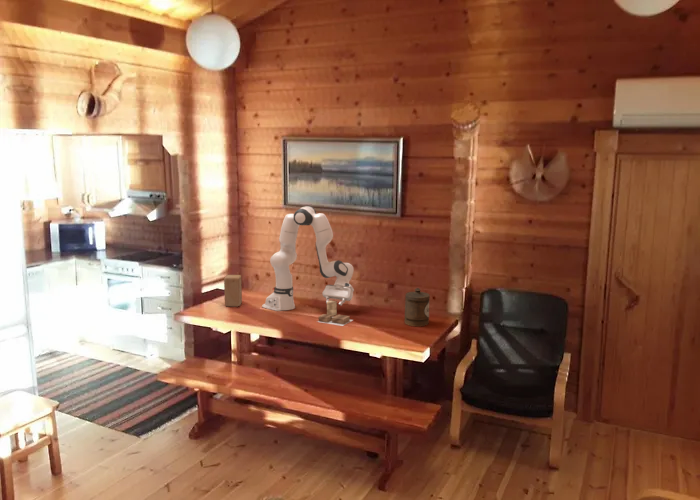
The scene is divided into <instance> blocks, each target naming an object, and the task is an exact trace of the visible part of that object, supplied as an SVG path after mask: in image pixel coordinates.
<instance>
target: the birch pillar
mask: <svg viewBox="0 0 700 500" xmlns="http://www.w3.org/2000/svg"><path fill="white" fill-rule="evenodd" d="M337 304H338V303H337V300H330V299H329V301H328V302H327V304H326V314H327V315H332V317H334V316H336V315H338V312H337V309H338V305H337Z"/></svg>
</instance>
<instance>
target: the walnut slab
mask: <svg viewBox="0 0 700 500" xmlns="http://www.w3.org/2000/svg"><path fill="white" fill-rule="evenodd" d="M350 317H351V316H350V315H345V314H344V315H343V314H338V313H337V315H335V316H332V323H338V324H345V323H347V322H349V321H350V320H351V318H350ZM349 323H350V322H349ZM347 324H348V323H347ZM345 325H346V324H345Z"/></svg>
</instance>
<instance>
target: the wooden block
mask: <svg viewBox="0 0 700 500" xmlns="http://www.w3.org/2000/svg"><path fill="white" fill-rule="evenodd" d="M242 282H243V281H242V274H227V275H226V276H225V277H224V278H223V286H224V287H223V289H224V291H223V292H224V306H225V307H230V308H231V307H238V306H239V307H240V306H241V305H242V303H243V292H242V291H243V290H242V287H243V286H242Z"/></svg>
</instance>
